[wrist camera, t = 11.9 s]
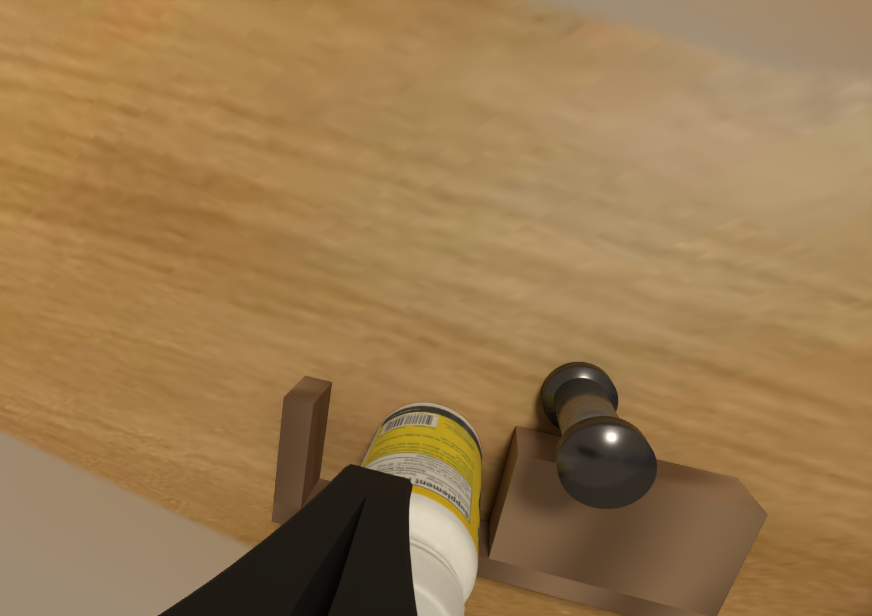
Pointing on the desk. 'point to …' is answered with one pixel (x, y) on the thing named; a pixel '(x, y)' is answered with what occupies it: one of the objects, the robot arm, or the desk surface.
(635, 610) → the notched board
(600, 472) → the spool post
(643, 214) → the desk surface
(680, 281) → the desk surface
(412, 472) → the supplement bottle
